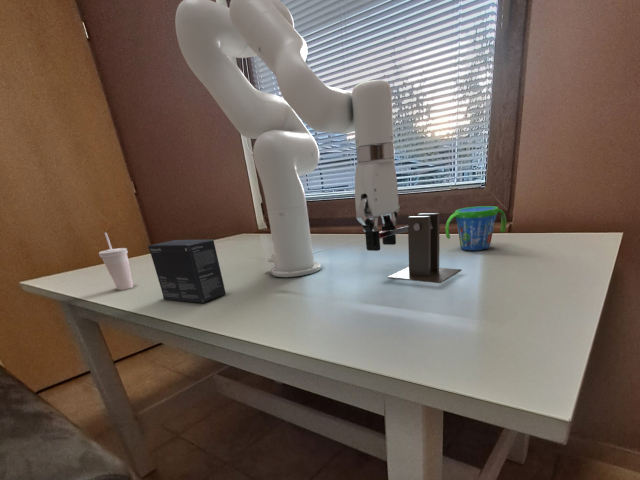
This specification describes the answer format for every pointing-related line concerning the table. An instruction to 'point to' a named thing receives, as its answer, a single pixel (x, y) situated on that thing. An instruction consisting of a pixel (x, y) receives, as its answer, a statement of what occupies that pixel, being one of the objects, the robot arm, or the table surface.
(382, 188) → the robot arm
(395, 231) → the tap lever
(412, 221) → the bracket
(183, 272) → the small box
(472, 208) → the snack cup
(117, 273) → the smoothie
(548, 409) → the table surface
